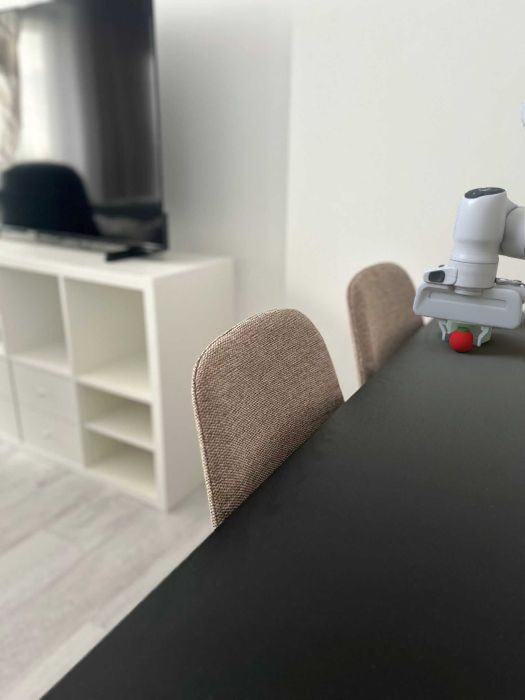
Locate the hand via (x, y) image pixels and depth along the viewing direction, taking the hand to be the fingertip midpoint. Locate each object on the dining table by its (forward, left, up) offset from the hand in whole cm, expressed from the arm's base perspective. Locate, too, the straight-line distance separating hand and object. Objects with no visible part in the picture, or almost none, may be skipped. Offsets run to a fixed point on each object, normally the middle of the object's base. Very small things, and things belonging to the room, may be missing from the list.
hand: (460, 342), depth 104 cm
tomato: (0, 0, -2) cm, 2 cm away
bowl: (-5, -9, -2) cm, 10 cm away
